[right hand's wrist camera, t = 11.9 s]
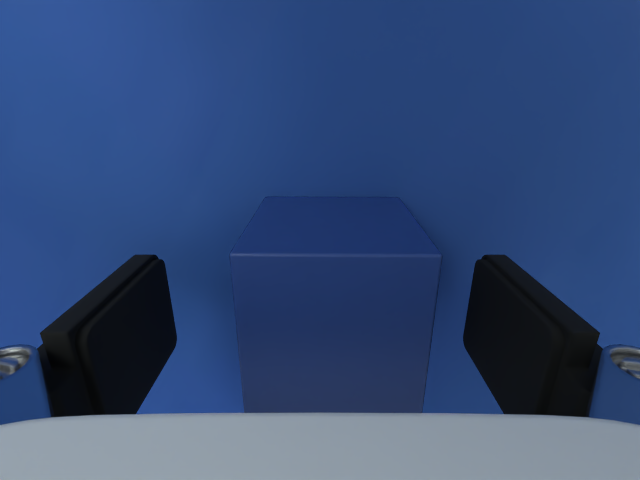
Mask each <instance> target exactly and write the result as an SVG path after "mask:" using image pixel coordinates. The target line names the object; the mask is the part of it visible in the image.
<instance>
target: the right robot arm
mask: <svg viewBox="0 0 640 480" xmlns="http://www.w3.org/2000/svg"><path fill="white" fill-rule="evenodd" d="M40 335H41V338H42V341H43V344H42V345H41V346H40V347H39V348H37V349H36V347H33V346H30V345H21V344H19V345H11V346H6V347H2V348H0V480H640V348H638V347H634V346H629V345H621V344H619V345H610V346H607V347H604V349H603V348H601V347H600V346H599V345H598V344H597V341H598V338H599V335H600V333H599V332H598V331H597V330H596V329H595V328H593V327H592V326H591V325H590V324H588V323H587V322H586V321H585V320H584V319H582V318H581V317H580V316H579V315H578V314H576V313H575V312H574V311H573V310H572V309H570V308H569V307H568V306H567V305H565V304H564V303H563V302H562V301H561V300H559V299H558V298H557V297H556V296H555V295H553V294H552V293H551V292H550V291H548V290H547V289H546V288H545V287H544V286H542V285H541V284H540V283H539V282H538V281H536V280H535V279H534V278H533V277H532V276H530V275H529V274H528V273H527V272H525V271H524V270H523V269H522V268H521V267H519V266H518V265H517V264H516V263H515V262H513V261H512V260H511V259H510V258H508V257H507V256H506V255H484V256H483V257H482V259H481V260H477V261H476V263H475V268H474V274H473V280H472V286H471V292H470V298H469V304H468V310H467V316H466V323H465V329H464V335H463V341H464V346H465V348H466V350H467V352H468V354H469V355H470V357H471V359H472V360H473V362H474V364H475V365H476V367H477V369H478V371H479V372H480V374H481V376H482V377H483V379H484V381H485V382H486V384H487V386H488V387H489V389H490V391H491V393H492V394H493V396H494V398H495V399H496V401H497V403H498V404H499V406H500V408H501V410H502V411H503V413H504V414H463V413H177V414H136V413H137V411H138V410H139V408H140V406H141V404H142V403H143V401H144V399H145V398H146V396H147V394H148V393H149V391H150V389H151V387H152V386H153V384H154V382H155V381H156V379H157V377H158V376H159V374H160V372H161V371H162V369H163V367H164V365H165V364H166V362H167V360H168V359H169V357H170V355H171V354H172V352H173V350H174V348H175V346H176V341H177V335H176V329H175V323H174V316H173V310H172V304H171V298H170V292H169V286H168V280H167V274H166V268H165V263H164V261H163V260H159V259H158V257H157V256H156V255H134V256H133V257H132V258H130V259H129V260H128V261H127V262H125V263H124V264H123V265H122V266H121V267H119V268H118V269H117V270H116V271H115V272H113V273H112V274H111V275H110V276H108V277H107V278H106V279H105V280H104V281H102V282H101V283H100V284H99V285H98V286H96V287H95V288H94V289H93V290H92V291H90V292H89V293H88V294H87V295H85V296H84V297H83V298H82V299H81V300H79V301H78V302H77V303H76V304H75V305H73V306H72V307H71V308H70V309H68V310H67V311H66V312H65V313H64V314H62V315H61V316H60V317H59V318H58V319H56V320H55V321H54V322H53V323H52V324H50V325H49V326H48V327H47V328H45V329H44V330H43V331H42V332H41V333H40Z"/></svg>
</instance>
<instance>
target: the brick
mask: <svg viewBox="0 0 640 480" xmlns="http://www.w3.org/2000/svg"><path fill="white" fill-rule="evenodd" d="M229 257H230V267H231V278H232V288H233V298H234V309H235V319H236V330H237V340H238V350H239V361H240V371H241V382H242V392H243V403H244V413H422V409H423V402H424V394H425V386H426V379H427V371H428V363H429V355H430V348H431V340H432V332H433V325H434V317H435V309H436V302H437V294H438V286H439V278H440V271H441V263H442V254H441V253H440V252H439V250H438V249H437V248H436V246H435V245H434V244H433V242H432V241H431V240H430V238H429V237H428V236H427V234H426V233H425V232H424V230H423V229H422V228H421V226H420V225H419V224H418V222H417V221H416V220H415V218H414V217H413V216H412V214H411V213H410V212H409V210H408V209H407V208H406V206H405V205H404V204H403V202H402V201H401V200H400V198H398V197H265V199H264V200H263V202H262V203H261V205H260V207H259V208H258V210H257V211H256V213H255V215H254V216H253V218H252V219H251V221H250V222H249V224H248V226H247V227H246V229H245V230H244V232H243V233H242V235H241V237H240V238H239V240H238V241H237V243H236V245H235V246H234V248H233V249H232V251H231V252H230V255H229Z"/></svg>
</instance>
